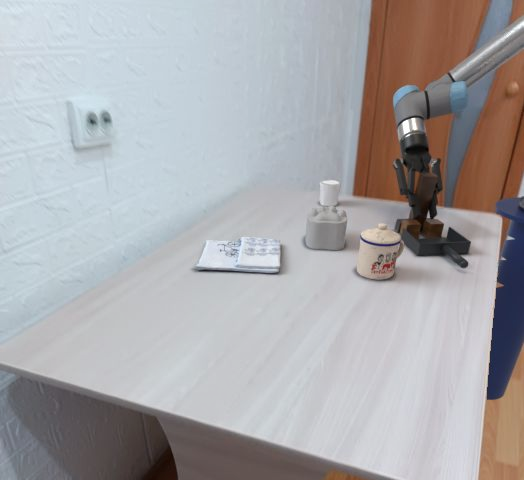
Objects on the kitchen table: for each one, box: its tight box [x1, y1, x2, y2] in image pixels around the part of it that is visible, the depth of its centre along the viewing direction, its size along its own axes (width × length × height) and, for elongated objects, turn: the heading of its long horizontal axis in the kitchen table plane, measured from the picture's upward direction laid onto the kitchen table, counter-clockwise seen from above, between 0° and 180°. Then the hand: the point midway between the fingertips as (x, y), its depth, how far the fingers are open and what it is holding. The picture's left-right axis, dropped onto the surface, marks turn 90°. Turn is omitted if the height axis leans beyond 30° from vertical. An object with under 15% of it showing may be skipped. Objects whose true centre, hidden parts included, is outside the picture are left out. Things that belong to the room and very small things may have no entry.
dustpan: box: [400, 226, 472, 269], centre depth 122 cm, size 22×14×3 cm, turn 8°
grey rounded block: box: [304, 205, 348, 251], centre depth 128 cm, size 10×13×9 cm
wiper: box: [394, 172, 438, 234], centre depth 133 cm, size 11×3×16 cm, turn 98°
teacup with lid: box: [356, 222, 405, 281], centre depth 110 cm, size 12×9×12 cm
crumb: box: [421, 218, 445, 238], centre depth 134 cm, size 4×4×4 cm
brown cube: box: [399, 220, 421, 239], centre depth 133 cm, size 4×4×4 cm
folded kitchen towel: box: [193, 235, 281, 274], centre depth 119 cm, size 19×20×2 cm
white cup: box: [319, 179, 342, 207], centre depth 156 cm, size 7×7×7 cm
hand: (425, 216), depth 130 cm, fingers closed on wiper, 4 cm apart
